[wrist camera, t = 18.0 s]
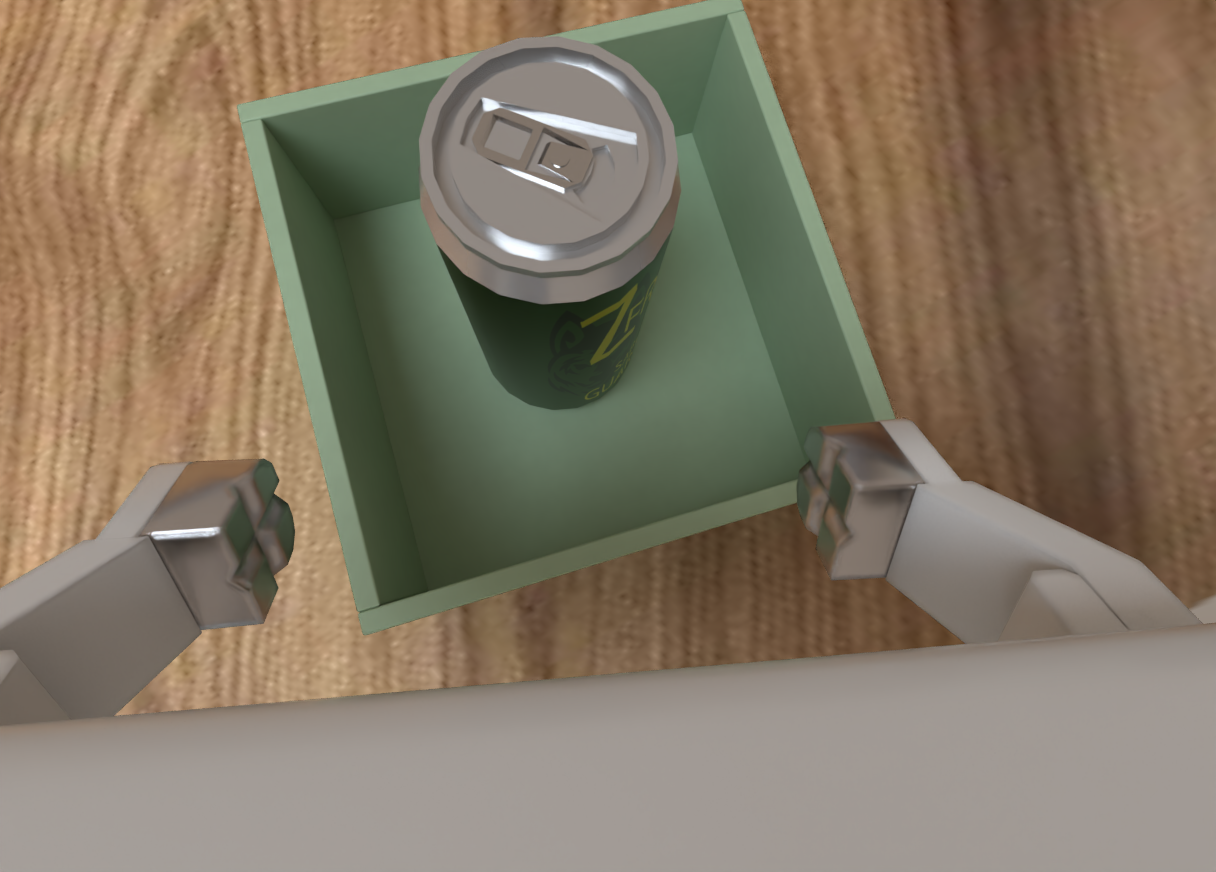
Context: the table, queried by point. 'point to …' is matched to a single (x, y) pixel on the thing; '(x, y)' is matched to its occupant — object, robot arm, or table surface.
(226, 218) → the table surface
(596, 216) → the beer can
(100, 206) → the table surface
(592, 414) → the green open box
